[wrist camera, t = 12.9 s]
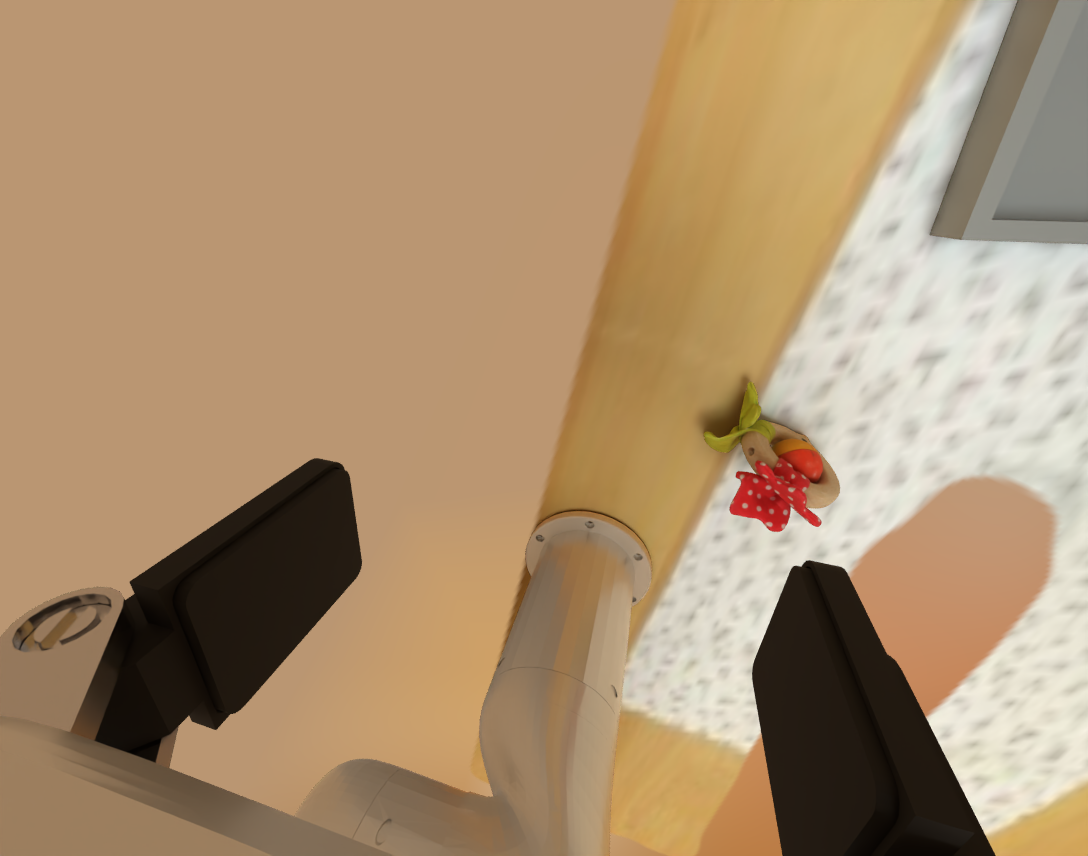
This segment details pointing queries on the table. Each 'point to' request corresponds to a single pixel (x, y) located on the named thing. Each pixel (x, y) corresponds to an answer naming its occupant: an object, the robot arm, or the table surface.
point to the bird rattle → (776, 469)
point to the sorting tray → (1028, 136)
